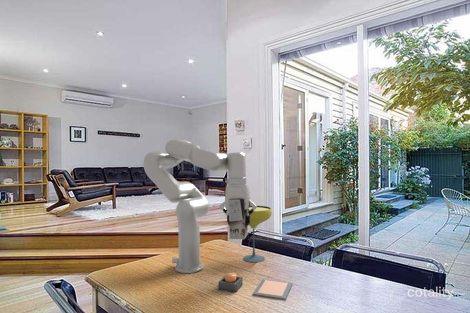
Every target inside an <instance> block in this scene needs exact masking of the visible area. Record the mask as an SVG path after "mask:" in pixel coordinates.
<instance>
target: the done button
mask: <svg viewBox="0 0 470 313" xmlns="http://www.w3.org/2000/svg"><path fill="white" fill-rule="evenodd" d="M224 276H225V282H230V283H236V276H237V273H235V272H226V273H225V274H224Z"/></svg>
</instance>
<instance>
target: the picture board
mask: <svg viewBox="0 0 470 313" xmlns="http://www.w3.org/2000/svg"><path fill="white" fill-rule="evenodd" d="M292 286H293V282H288V281H287V282H286V281H279V280H271V279H264V278H263V279H261V280H260V282H259V284H258V285H257V287H256V288H255V290H254V291H253V292H252V296H253V297H261V298H262V297H263V298H269V299H275V300H281V301H286V300H287V298H288V296H289V294H290V291H291V288H292Z"/></svg>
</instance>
